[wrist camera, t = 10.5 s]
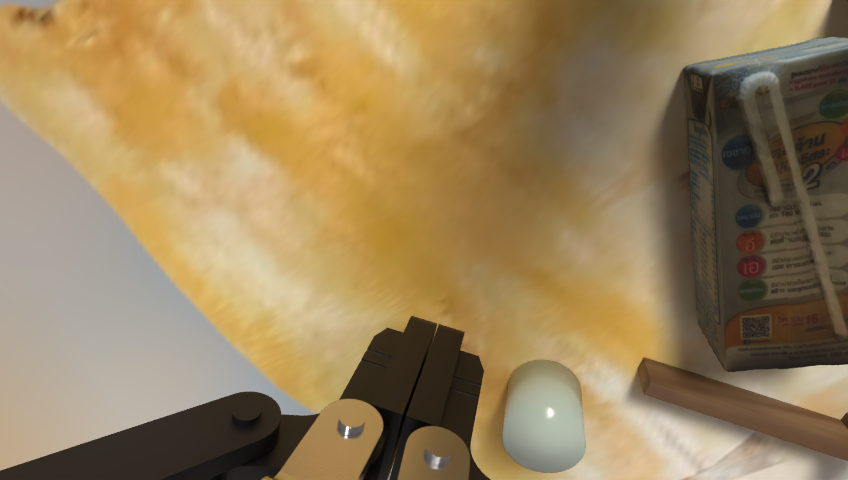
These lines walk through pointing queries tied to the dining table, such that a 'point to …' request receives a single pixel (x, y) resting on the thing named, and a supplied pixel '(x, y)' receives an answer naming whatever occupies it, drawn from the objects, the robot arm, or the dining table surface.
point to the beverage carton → (771, 204)
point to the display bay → (745, 408)
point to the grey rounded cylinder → (544, 417)
